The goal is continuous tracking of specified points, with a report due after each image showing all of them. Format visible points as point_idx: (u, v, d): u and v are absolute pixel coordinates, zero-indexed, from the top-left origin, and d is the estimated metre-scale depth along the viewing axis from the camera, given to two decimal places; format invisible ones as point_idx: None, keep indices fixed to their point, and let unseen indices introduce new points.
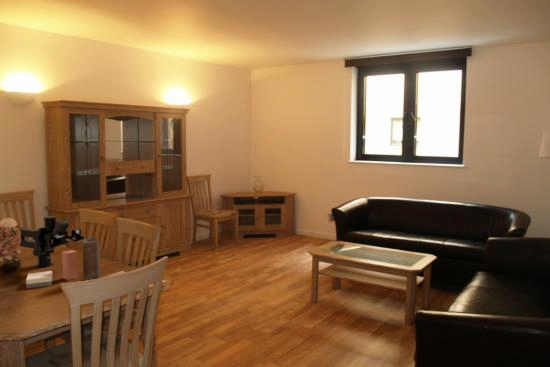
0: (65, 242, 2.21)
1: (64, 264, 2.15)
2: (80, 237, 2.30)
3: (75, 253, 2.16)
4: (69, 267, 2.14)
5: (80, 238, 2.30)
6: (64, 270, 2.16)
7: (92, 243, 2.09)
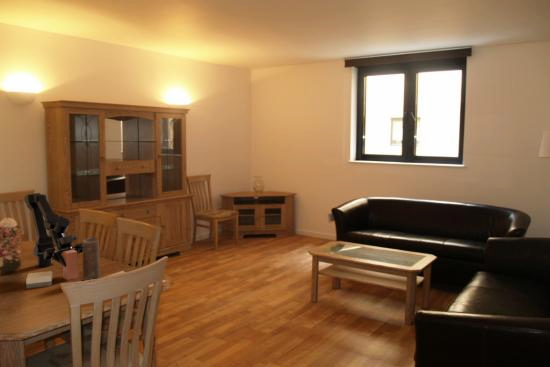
0: (63, 264, 2.14)
1: None
2: None
3: (75, 253, 2.16)
4: (69, 267, 2.14)
5: None
6: (64, 270, 2.16)
7: (92, 243, 2.09)
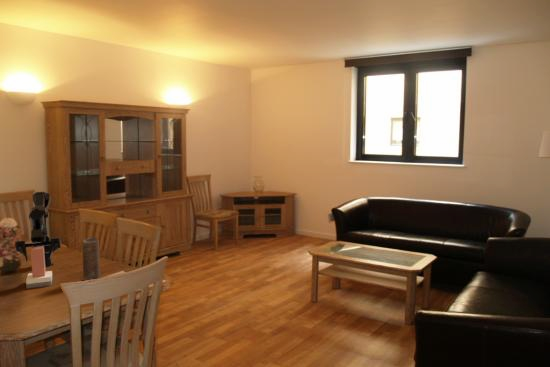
0: None
1: None
2: (49, 254, 2.10)
3: (41, 250, 2.06)
4: (34, 264, 2.05)
5: (49, 255, 2.10)
6: None
7: (92, 243, 2.09)
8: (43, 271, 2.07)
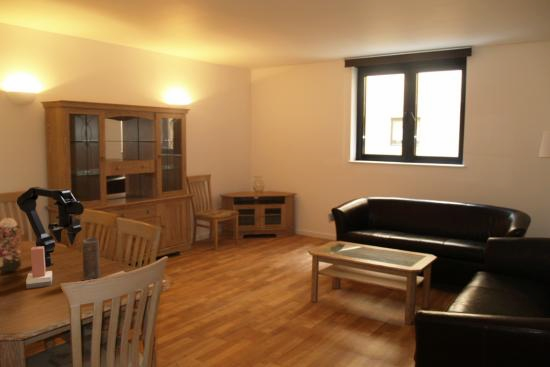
0: (72, 242, 2.29)
1: None
2: (59, 238, 2.33)
3: (41, 250, 2.06)
4: (34, 264, 2.05)
5: (58, 238, 2.33)
6: None
7: (92, 243, 2.09)
8: (43, 271, 2.07)
